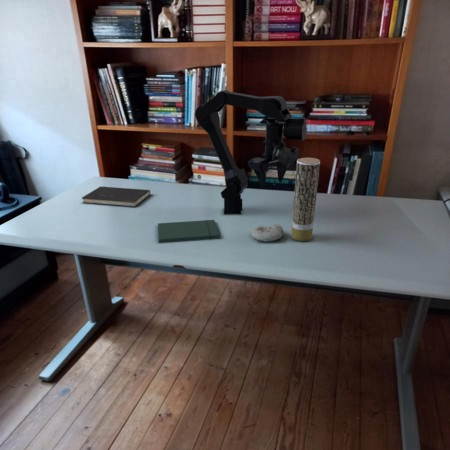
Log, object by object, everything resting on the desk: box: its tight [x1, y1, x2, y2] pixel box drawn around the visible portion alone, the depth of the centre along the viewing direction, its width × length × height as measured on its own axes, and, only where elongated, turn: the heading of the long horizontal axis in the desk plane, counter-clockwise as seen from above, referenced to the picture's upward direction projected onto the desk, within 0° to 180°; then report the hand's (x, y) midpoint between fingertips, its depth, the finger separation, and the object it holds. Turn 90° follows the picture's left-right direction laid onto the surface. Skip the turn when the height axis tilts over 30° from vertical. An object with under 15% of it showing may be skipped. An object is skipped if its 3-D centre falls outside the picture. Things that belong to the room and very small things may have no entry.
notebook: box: [157, 219, 221, 243], centre depth 143 cm, size 20×14×1 cm
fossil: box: [250, 224, 284, 242], centre depth 138 cm, size 11×4×10 cm
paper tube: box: [290, 157, 321, 242], centre depth 131 cm, size 7×7×25 cm
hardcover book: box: [81, 186, 151, 208], centre depth 173 cm, size 16×23×2 cm
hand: (271, 184), depth 148 cm, fingers open, 9 cm apart
